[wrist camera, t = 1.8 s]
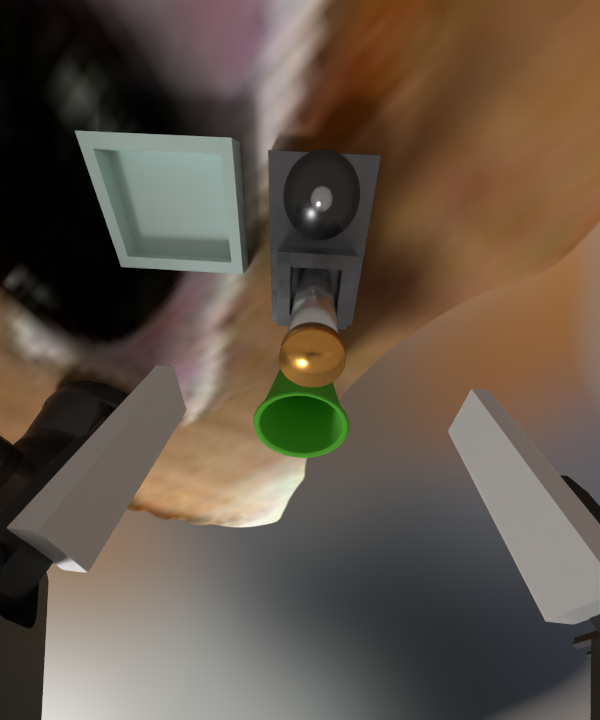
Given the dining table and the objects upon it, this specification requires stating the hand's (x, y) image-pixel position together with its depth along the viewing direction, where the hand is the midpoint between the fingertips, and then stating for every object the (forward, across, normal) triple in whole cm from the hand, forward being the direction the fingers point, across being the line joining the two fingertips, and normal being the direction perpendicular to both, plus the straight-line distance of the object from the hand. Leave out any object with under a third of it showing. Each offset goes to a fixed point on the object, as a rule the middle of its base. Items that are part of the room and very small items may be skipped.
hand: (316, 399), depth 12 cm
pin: (+17, 0, 0) cm, 17 cm away
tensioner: (+18, -1, +3) cm, 19 cm away
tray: (+18, -14, +6) cm, 23 cm away
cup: (+19, -1, -11) cm, 22 cm away
